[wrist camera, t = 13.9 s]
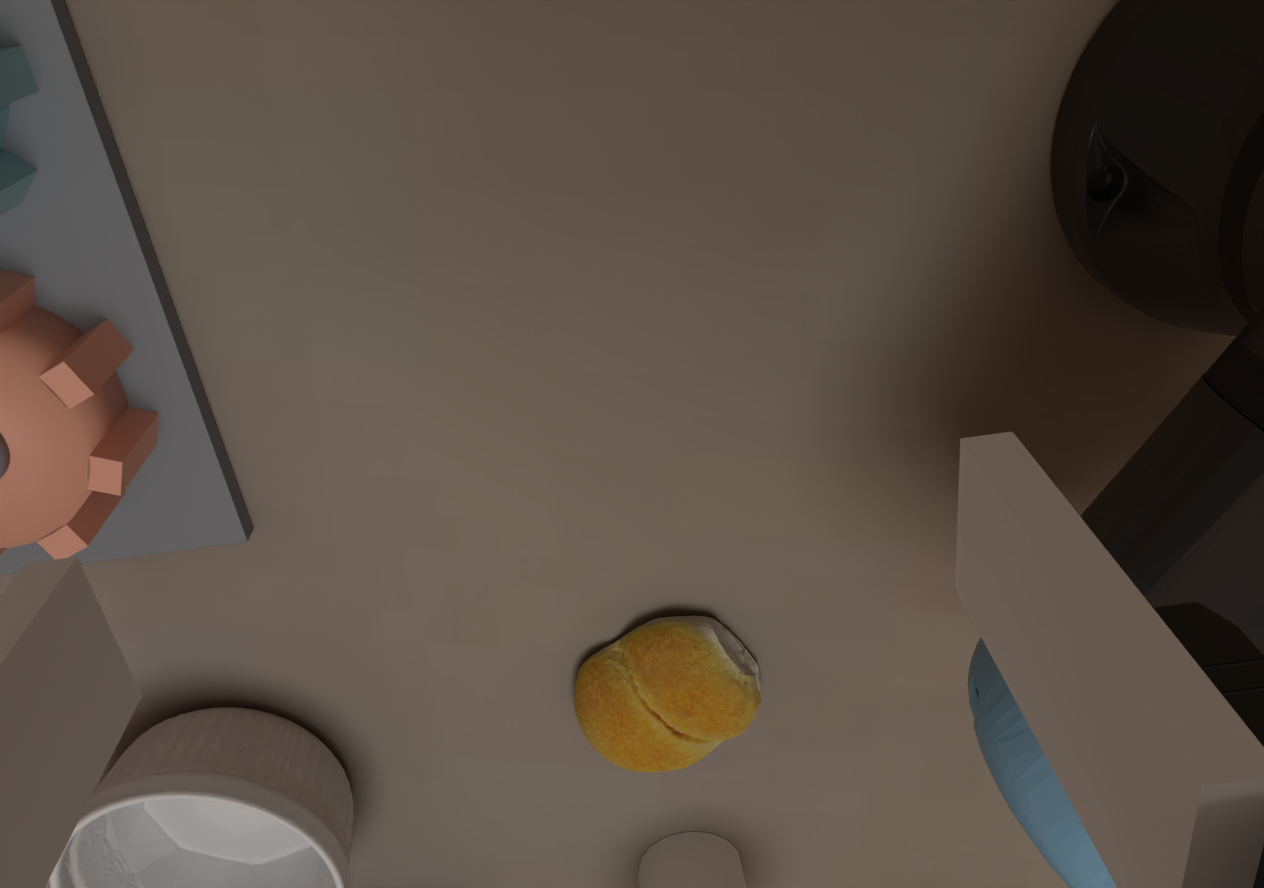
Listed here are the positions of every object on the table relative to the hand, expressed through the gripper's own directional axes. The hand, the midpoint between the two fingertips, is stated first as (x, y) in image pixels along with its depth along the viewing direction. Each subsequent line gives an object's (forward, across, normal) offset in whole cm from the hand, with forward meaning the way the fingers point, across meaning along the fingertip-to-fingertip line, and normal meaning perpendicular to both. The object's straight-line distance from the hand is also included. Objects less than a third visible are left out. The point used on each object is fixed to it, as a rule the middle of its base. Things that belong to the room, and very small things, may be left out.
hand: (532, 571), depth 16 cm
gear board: (+27, +23, +1) cm, 35 cm away
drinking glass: (+27, -1, +40) cm, 48 cm away
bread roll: (+27, -2, +26) cm, 38 cm away
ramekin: (+27, +21, +30) cm, 45 cm away
